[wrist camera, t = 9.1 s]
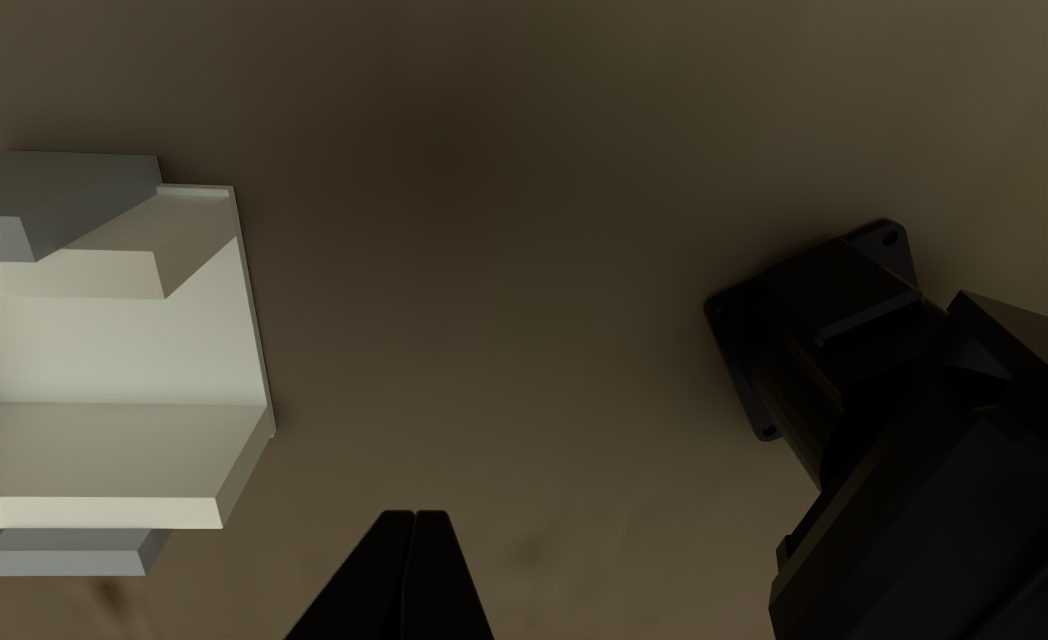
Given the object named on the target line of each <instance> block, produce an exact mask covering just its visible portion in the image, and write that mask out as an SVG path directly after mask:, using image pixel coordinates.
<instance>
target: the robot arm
mask: <svg viewBox="0 0 1048 640" xmlns="http://www.w3.org/2000/svg"><path fill="white" fill-rule="evenodd" d="M888 231H891V232H890V236H889V237H888V239H886V240H885V241H882V237H883V235H884V234H885V233H887V232H888ZM720 307H726V309H725V311H724V312H723V313H722V314H719V315H715V312H716V310H717V309H718V308H720ZM703 310H704V315H705V317H706V320H707V322H708V325H709V327H710V329H711V332H712V334H713V337H714V339H715V341H716V344H717V346H718V349H719V351H720V353H721V356H722V358H723V360H724V363H725V365H726V368H727V370H728V372H729V375H730V377H731V380H732V382H733V384H734V387H735V389H736V392H737V394H738V396H739V399H740V401H741V404H742V406H743V408H744V411H745V413H746V415H747V418H748V420H749V423H750V425H751V427H752V430H753V431H754V433H755V435H756V436H757V438H758V439H759V440H761V441H772V440H775V439H777V438H780V437H782V436H783V437H784V438H785V440H786V441H787V443H788V444H789V446H790V447H791V449H792V450H793V452H794V453H795V455H796V456H797V458H798V459H799V461H800V462H801V464H802V465H803V467H804V468H805V470H806V471H807V473H808V474H809V476H810V477H811V479H812V480H813V482H814V483H815V485H816V486H817V488H818V489H819V491H820V492H821V494H820V495H819V497H818V498H817V500H816V501H815V502H814V504H813V505H812V506H811V508H810V509H809V511H808V512H807V513H806V515H805V516H804V518H803V519H802V520H801V522H800V523H799V525H798V526H797V527H796V529H795V530H794V532H793V533H792V534H791V535H786V536H785V537H784V539H783V540H782V541H781V543H780V544H779V546H778V547H777V548H776V555H777V563H778V572H779V574H778V575H777V576H776V578H775V579H774V580H773V582H772V587H771V594H770V601H769V608H768V609H769V613H770V618H771V622H772V626H773V630H774V634H775V638H776V640H1048V317H1047V316H1044V315H1040V314H1037V313H1034V312H1031V311H1028V310H1025V309H1021V308H1018V307H1015V306H1012V305H1009V304H1006V303H1003V302H999V301H996V300H993V299H990V298H987V297H984V296H981V295H977V294H974V293H971V292H968V291H965V290H960V291H959V292H958V294H957V295H956V297H955V298H954V299H953V301H952V302H951V304H950V305H949V307H948V308H947V309H946V310H947V311H948V312H949V313H948V312H947V311H945V310H944V309H942V308H941V307H939V306H938V305H936V304H935V303H934V302H932V301H931V300H929V299H928V298H926V297H925V296H923V293H922V292H921V290H919V289H918V285H917V280H916V276H915V271H914V267H913V262H912V257H911V253H910V248H909V244H908V239H907V234H906V231H905V229H904V227H903V226H902V225H900V224H898V223H897V222H895V221H893V220H889V219H884V220H881V221H878V222H876V223H873V224H871V225H869V226H867V227H865V228H862V229H860V230H858V231H856V232H854V233H851V234H849V235H847V236H845V237H843V238H833V239H831V240H829V241H827V242H825V243H822V244H820V245H818V246H816V247H814V248H811V249H809V250H807V251H805V252H803V253H800V254H798V255H796V256H794V257H792V258H789V259H787V260H785V261H783V262H781V263H778V264H776V265H774V266H772V267H770V268H767V269H765V270H764V271H763V272H762V273H761V274H760V275H759V276H757V277H755V278H752V279H750V280H748V281H746V282H744V283H741V284H739V285H737V286H735V287H733V288H730V289H728V290H726V291H724V292H722V293H719V294H717V295H715V296H713V297H712V298H710V299H709V300H708V301H707V302H706V303H705V306H704V309H703ZM769 425H771V426H770V427H769V428H768V429H764V428H765V427H766V426H769ZM763 429H764V430H763ZM282 640H494V637H493V634H492V631H491V629H490V626H489V623H488V621H487V618H486V615H485V613H484V610H483V607H482V604H481V602H480V599H479V596H478V594H477V591H476V588H475V586H474V583H473V580H472V577H471V575H470V572H469V569H468V567H467V564H466V561H465V559H464V556H463V553H462V550H461V548H460V545H459V542H458V540H457V537H456V534H455V532H454V529H453V526H452V523H451V521H450V518H449V515H448V514H447V512H446V511H444V510H419V511H417V512H416V514H414V512H413V511H411V510H385V511H383V512H382V513H381V514H380V515H379V516H378V518H377V519H376V520H375V521H374V523H373V524H372V525H371V526H370V528H369V529H368V530H367V532H366V533H365V534H364V535H363V537H362V538H361V539H360V541H359V542H358V543H357V544H356V546H355V547H354V548H353V550H352V551H351V552H350V553H349V555H348V556H347V557H346V559H345V560H344V561H343V562H342V564H341V565H340V566H339V567H338V569H337V570H336V571H335V573H334V574H333V575H332V576H331V578H330V579H329V580H328V582H327V583H326V584H325V585H324V587H323V588H322V589H321V591H320V592H319V593H318V594H317V596H316V597H315V598H314V600H313V601H312V602H311V603H310V605H309V606H308V607H307V608H306V610H305V611H304V612H303V614H302V615H301V616H300V617H299V619H298V620H297V621H296V623H295V624H294V625H293V626H292V628H291V629H290V630H289V632H288V633H287V634H286V635H285V637H284V638H283V639H282Z"/></svg>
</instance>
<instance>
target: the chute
mask: <svg viewBox="0 0 1048 640" xmlns="http://www.w3.org/2000/svg"><path fill="white" fill-rule="evenodd" d="M276 431H277V430H276V425H275V419H274V413H273V408H272V402H271V396H270V391H269V385H268V379H267V374H266V368H265V362H264V357H263V351H262V345H261V340H260V334H259V329H258V323H257V317H256V312H255V306H254V300H253V295H252V289H251V283H250V278H249V272H248V266H247V261H246V255H245V249H244V244H243V238H242V232H241V227H240V221H239V216H238V210H237V204H236V199H235V193H234V187H233V186H223V185H196V184H168V183H163V182H162V177H161V173H160V169H159V164H158V160H157V156H154V155H128V154H102V153H76V152H50V151H24V150H8V151H4V152H1V153H0V528H6V529H5V530H4V531H3V532H2V533H1V534H0V576H146V574H147V573H148V571H149V569H150V568H151V566H152V564H153V563H154V561H155V560H156V558H157V556H158V555H159V553H160V551H161V550H162V548H163V546H164V545H165V543H166V542H167V540H168V538H169V537H170V535H171V533H172V532H173V530H174V529H223V527H224V525H225V523H226V521H227V519H228V517H229V516H230V514H231V512H232V510H233V508H234V506H235V504H236V502H237V500H238V498H239V496H240V494H241V492H242V490H243V489H244V487H245V485H246V483H247V481H248V479H249V477H250V475H251V473H252V471H253V469H254V467H255V465H256V463H257V462H258V460H259V458H260V456H261V454H262V452H263V450H264V448H265V446H266V444H267V442H268V440H269V438H273V437H274V435H275V433H276Z"/></svg>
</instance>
